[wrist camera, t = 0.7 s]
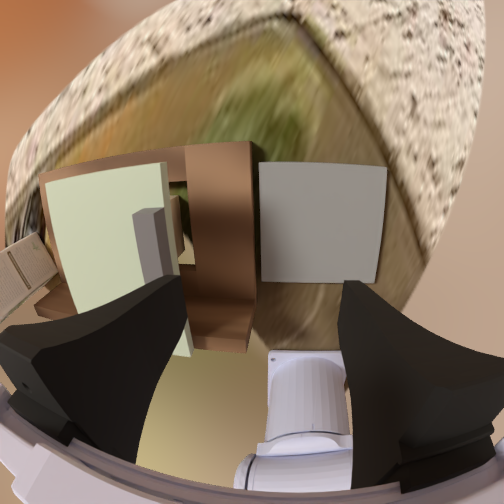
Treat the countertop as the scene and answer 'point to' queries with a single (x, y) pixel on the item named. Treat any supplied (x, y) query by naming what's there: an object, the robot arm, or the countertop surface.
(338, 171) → the mat
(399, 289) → the countertop surface
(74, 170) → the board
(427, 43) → the countertop surface
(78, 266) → the cover
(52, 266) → the syrup box
